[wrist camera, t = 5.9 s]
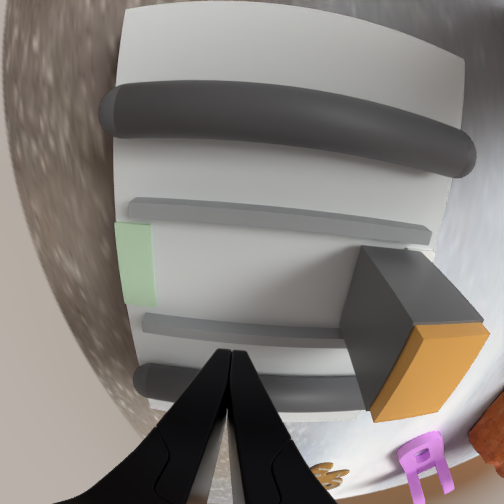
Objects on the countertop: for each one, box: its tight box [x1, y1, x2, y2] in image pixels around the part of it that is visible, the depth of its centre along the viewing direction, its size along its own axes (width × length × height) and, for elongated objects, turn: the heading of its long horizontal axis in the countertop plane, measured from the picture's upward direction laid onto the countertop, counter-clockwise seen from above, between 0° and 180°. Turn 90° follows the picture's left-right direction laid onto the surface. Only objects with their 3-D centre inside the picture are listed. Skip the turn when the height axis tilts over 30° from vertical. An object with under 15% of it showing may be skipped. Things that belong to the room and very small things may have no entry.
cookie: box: [310, 462, 349, 490], centre depth 27 cm, size 8×1×10 cm
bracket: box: [397, 431, 454, 504], centre depth 22 cm, size 13×6×7 cm, turn 31°
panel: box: [98, 1, 476, 422], centre depth 12 cm, size 14×22×4 cm, turn 175°
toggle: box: [339, 245, 490, 423], centre depth 10 cm, size 3×4×6 cm
